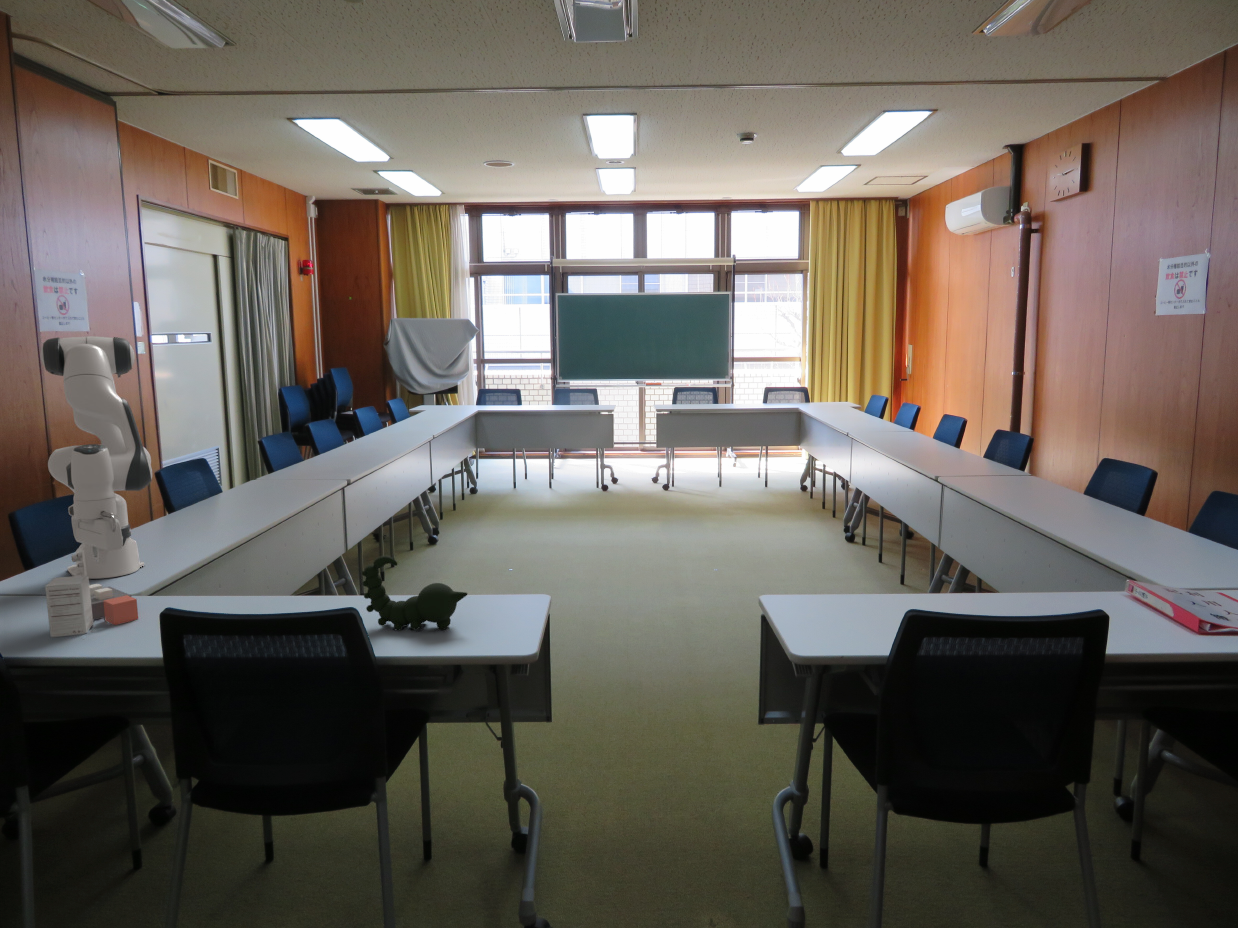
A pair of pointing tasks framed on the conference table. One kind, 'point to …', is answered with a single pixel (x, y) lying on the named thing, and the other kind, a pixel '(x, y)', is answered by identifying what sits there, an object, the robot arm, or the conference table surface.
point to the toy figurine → (409, 601)
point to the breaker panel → (99, 605)
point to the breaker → (94, 588)
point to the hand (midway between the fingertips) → (100, 563)
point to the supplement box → (69, 605)
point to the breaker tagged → (103, 594)
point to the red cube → (120, 610)
